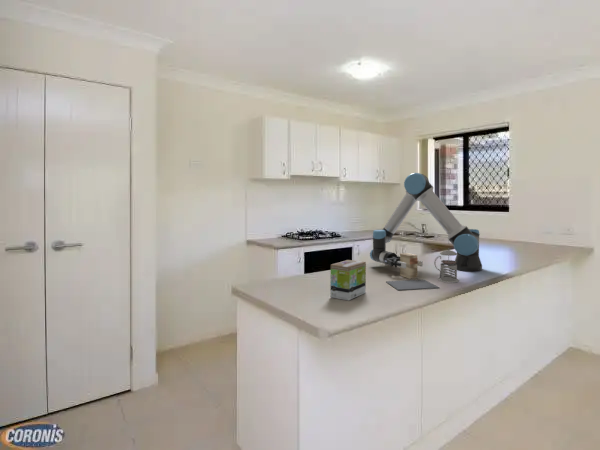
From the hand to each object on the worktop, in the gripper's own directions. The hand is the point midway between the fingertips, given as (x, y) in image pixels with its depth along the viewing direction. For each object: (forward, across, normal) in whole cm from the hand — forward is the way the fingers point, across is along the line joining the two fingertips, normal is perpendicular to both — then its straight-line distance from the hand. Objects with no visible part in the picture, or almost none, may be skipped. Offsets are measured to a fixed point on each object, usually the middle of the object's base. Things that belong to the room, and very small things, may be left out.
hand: (413, 264), depth 189 cm
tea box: (+13, +46, -7) cm, 49 cm away
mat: (+11, +10, -7) cm, 17 cm away
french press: (+11, -11, -7) cm, 17 cm away
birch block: (-4, 0, -7) cm, 8 cm away
